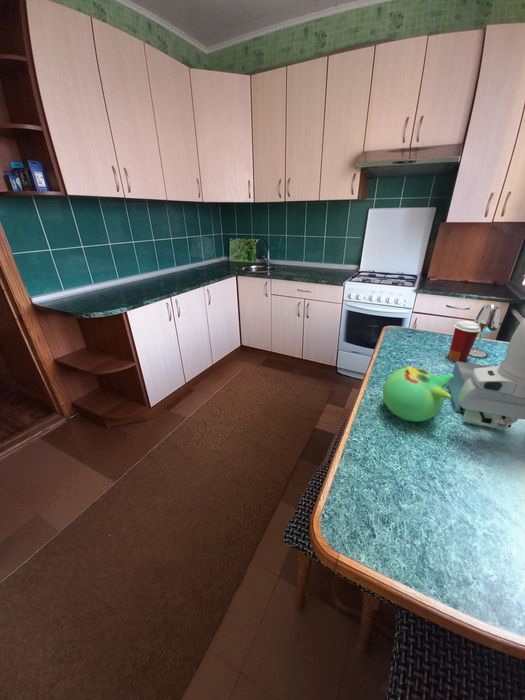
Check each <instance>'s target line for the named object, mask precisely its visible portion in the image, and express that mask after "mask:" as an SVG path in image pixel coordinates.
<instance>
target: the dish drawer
mask: <svg viewBox="0 0 525 700" xmlns="http://www.w3.org/2000/svg"><path fill="white" fill-rule="evenodd" d="M462 409H463V412H462V413H463V415H462V418H461V419H462V421H463V422H466V423H471V424H476V425H481V426H487V427H491V428H493V427H492V426H491V421H492V416H491V414H490V413H486V412H480V411H475V410H469V409H464V408H462ZM505 418H507V416H502V415H500V416H499V418H497V417H496V419H500V420H504V419H505ZM511 427H512V424H511V425H509V426H508V428H507V429H506V430H505V431H507V430H508V429H511Z"/></svg>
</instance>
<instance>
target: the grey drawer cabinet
mask: <svg viewBox="0 0 525 700" xmlns="http://www.w3.org/2000/svg"><path fill="white" fill-rule="evenodd" d="M493 366H494V365H486V364H478V363H473V362H472V363H471V362H466V361H465V362H458V361H456V362H454V366H453V369H452V371H451V374H453V375H454V377H453V378H452V380H451V381H450V382H449V383H448V384H447V387H448V390H449V394H450V395H451V399H452V403H453V405H454V409H455V412H458V413H464V412H463V409H462V407H461V405H460V404H459V401H458V396H459V393H460V391H461V389H462V387H463V385H464V383H465V382H466V381H467V380H468V379H470V378H472V371H473V369H475V368H484V367H493Z"/></svg>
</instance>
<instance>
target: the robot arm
mask: <svg viewBox="0 0 525 700" xmlns="http://www.w3.org/2000/svg"><path fill="white" fill-rule="evenodd" d="M492 366H493V367H484V368H475V369H473V371H472V378H470V379H468V380H467V381H466V382H465V383H464V385H463V387H462V389H461V391H460V393H459V396H458V401H459V404H460V405H461V407H462V408H464V409H469V410H475V411H480V412H486V413H490V414H491V416H492V421H491V426H492V427H491V426H490V427H491V428H493V429H499V430H505V431H507V430H508V429H509V428H508V426H509V425H511V426H512V424H515V423H517V422H518V420H524V421H525V317H523V319H522V320H521V321H520V323H519V324H518V326H517V327H516V329H515V331H514V333H513V334H512V336H511V338H510V341H509V343H508V346H507V348H506V356H505V357H504V359H503V360H502V361H501V362H500V364H499V365H492ZM500 415H502V416H507V418H505V419H504V420H500V419H496V417H497V418H499V416H500ZM507 428H508V429H507ZM506 429H507V430H506Z"/></svg>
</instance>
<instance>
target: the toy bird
mask: <svg viewBox="0 0 525 700" xmlns="http://www.w3.org/2000/svg"><path fill="white" fill-rule="evenodd" d="M453 377H454V375H453V374H452V373H445V374H442V375H438V376H435V375H434V373H431V372H430V371H428V370H426V369H423V368H420V367H416V366H415V367H414V366H410V365H407V366H406V367H401V368H398V369H396V370H395V371H393V372H392V373H391V374H390V375H389V376H388V377H387V378H386V380H385V382H384V384H383V388H382V398H383V401H384V404H385V405H386V407H387V409H388V410H389V411H390V412H391V413H393V414H394V415H395V416H397V417H398V418H400V419H403V420H405V421H409V422H424V421H428V420H429V419H431V418H433V417H435V416H436V415H438V413H439V412H440V410H441V408H442V407H443V405H444V403H445V402H444V401H445V399H452V396H451V393H450V392H448V391H446V390H445V389H444V388H445V387H446V386H448V384H449V382H450V381H451V380H452V378H453Z"/></svg>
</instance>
